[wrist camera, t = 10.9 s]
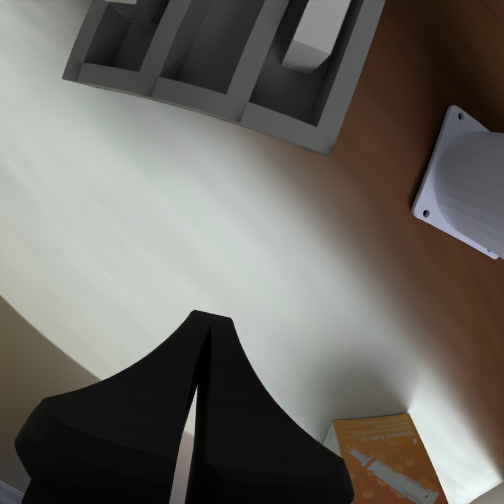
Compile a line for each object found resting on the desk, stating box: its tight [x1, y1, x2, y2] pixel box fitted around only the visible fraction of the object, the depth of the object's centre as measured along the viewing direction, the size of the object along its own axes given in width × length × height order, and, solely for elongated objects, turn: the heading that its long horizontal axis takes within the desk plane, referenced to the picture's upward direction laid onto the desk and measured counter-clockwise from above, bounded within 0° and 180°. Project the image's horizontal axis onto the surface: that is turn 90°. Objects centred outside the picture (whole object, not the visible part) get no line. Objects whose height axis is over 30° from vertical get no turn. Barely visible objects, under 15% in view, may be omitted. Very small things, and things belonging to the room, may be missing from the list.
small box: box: [323, 413, 448, 504], centre depth 20 cm, size 8×6×13 cm
